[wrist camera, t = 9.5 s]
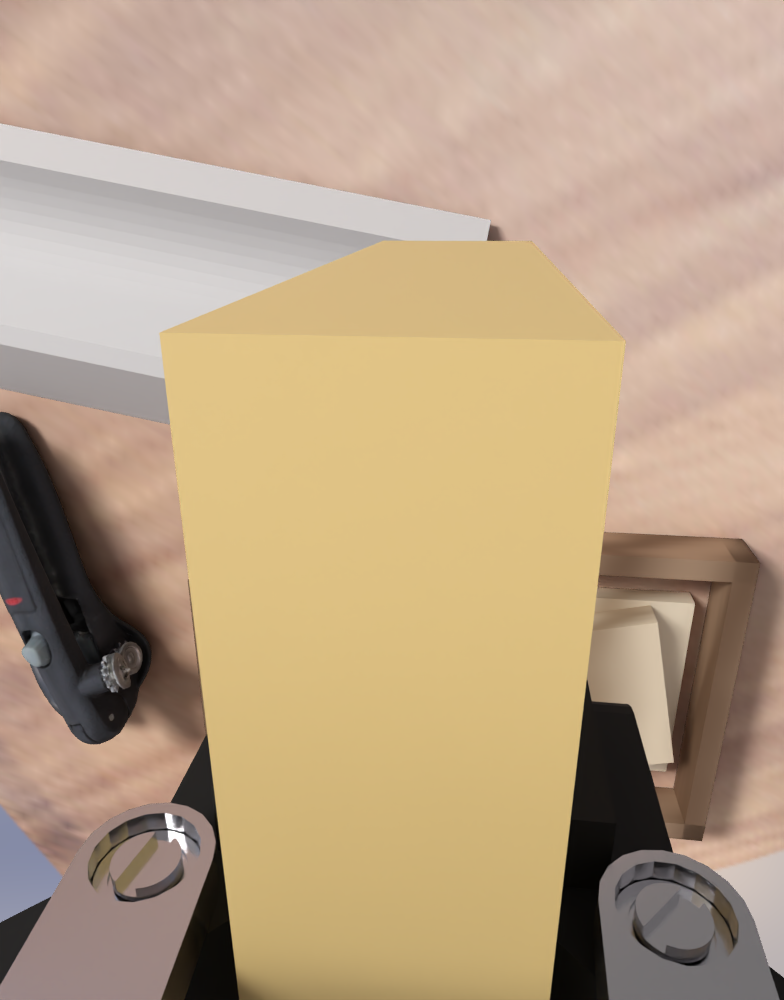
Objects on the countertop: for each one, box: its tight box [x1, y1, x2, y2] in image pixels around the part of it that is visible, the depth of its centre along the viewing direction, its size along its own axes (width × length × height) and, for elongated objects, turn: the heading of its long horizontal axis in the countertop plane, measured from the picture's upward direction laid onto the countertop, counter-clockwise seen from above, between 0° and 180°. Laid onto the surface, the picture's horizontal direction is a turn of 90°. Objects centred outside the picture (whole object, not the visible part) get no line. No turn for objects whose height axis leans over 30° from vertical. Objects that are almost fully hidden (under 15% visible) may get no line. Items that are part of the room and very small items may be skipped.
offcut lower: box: [595, 587, 695, 772], centre depth 38 cm, size 8×10×2 cm
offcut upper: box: [587, 605, 674, 765], centre depth 36 cm, size 6×8×2 cm
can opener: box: [0, 412, 151, 744], centre depth 37 cm, size 18×7×6 cm, turn 13°
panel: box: [159, 241, 626, 1000], centre depth 10 cm, size 2×12×9 cm, turn 0°
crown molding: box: [0, 124, 491, 424], centre depth 33 cm, size 31×12×4 cm, turn 79°
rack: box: [188, 532, 760, 841], centre depth 36 cm, size 24×16×7 cm, turn 90°
